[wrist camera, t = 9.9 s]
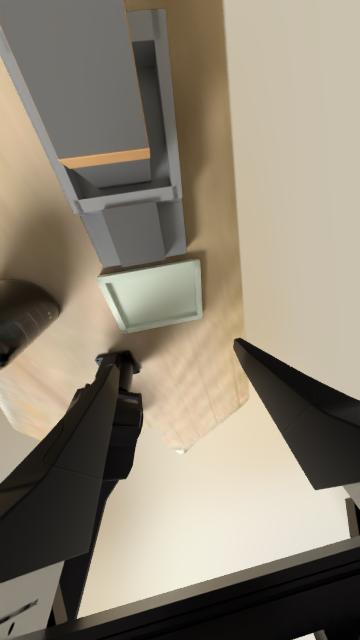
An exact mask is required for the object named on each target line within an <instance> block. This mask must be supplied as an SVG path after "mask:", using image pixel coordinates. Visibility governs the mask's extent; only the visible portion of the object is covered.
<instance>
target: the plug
mask: <svg viewBox="0 0 360 640" xmlns="http://www.w3.org/2000/svg"><path fill="white" fill-rule="evenodd" d="M0 27H1V29H2V31H3V34H4V36H5V38H6V41H7V43H8V45H9V47H10V50H11V52H12V54H13V57H14V59H15V61H16V64H17V66H18V68H19V70H20V73H21V75H22V77H23V80H24V82H25V84H26V87H27V89H28V91H29V93H30V96H31V98H32V100H33V103H34V105H35V107H36V110H37V112H38V114H39V116H40V119H41V121H42V123H43V126H44V128H45V130H46V133H47V135H48V137H49V139H50V142H51V144H52V146H53V149H54V151H55V153H56V156H57V158H58V160H59V162H61V163H62V164H64V165H65V166H66V167H68V168H69V169H73V170H74V171H76V172H77V173H78V174H80V175H81V176H82V177H84V178H85V179H86V180H88V181H89V182H91V183H92V184H93V185H95V186H96V187H97V188H99V189H107V188H114V187H121V186H128V185H135V184H142V183H149V182H151V171H150V160H149V158H150V149H149V143H148V137H147V131H146V125H145V119H144V113H143V107H142V101H141V95H140V89H139V83H138V77H137V71H136V65H135V60H134V54H133V48H132V42H131V36H130V30H129V24H128V18H127V12H126V6H125V0H0Z"/></svg>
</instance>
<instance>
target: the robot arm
mask: <svg viewBox="0 0 360 640" xmlns="http://www.w3.org/2000/svg"><path fill="white" fill-rule="evenodd" d="M233 348H234V351H235V353H236V355H237V357H238V359H239V362H240V364H241V366H242V368H243V370H244V371H245V373H246V375H247V377H248V378H249V380H250V382H251V383H252V385H253V387H254V388H255V390H256V392H257V393H258V395H259V397H260V398H261V400H262V402H263V403H264V405H265V407H266V409H267V410H268V412H269V414H270V415H271V417H272V419H273V420H274V422H275V424H276V425H277V427H278V429H279V430H280V432H281V434H282V436H283V438H284V439H285V441H286V443H287V444H288V446H289V448H290V449H291V451H292V453H293V454H294V456H295V458H296V459H297V461H298V463H299V465H300V466H301V468H302V470H303V471H304V473H305V475H306V476H307V478H308V480H309V481H310V483H311V485H312V486H313V488H314V489H315V490H319V489H325V488H331V487H337V486H343V487H344V489H345V490H346V491H347V492H348V494H349V495H350V498H346V499H345V501H346V509H347V516H348V524H349V532H350V537H351V538H350V539H347V540H343V541H340V542H336V543H333V544H330V545H326V546H323V547H320V548H316V549H313V550H309V551H306V552H302V553H299V554H296V555H293V556H289V557H285V558H282V559H279V560H275V561H272V562H269V563H265V564H262V565H258V566H255V567H252V568H248V569H245V570H241V571H238V572H235V573H231V574H228V575H224V576H221V577H218V578H214V579H211V580H207V581H204V582H201V583H197V584H194V585H191V586H187V587H184V588H180V589H177V590H174V591H170V592H167V593H163V594H160V595H157V596H153V597H150V598H146V599H143V600H140V601H136V602H133V603H129V604H126V605H123V606H119V607H116V608H113V609H109V610H106V611H102V612H99V613H95V614H92V615H89V616H86V617H82V618H79V619H77V615H78V611H79V607H80V603H81V599H82V595H83V591H84V587H85V583H86V579H87V576H88V571H89V567H90V564H91V559H92V556H93V552H94V548H95V544H96V540H97V536H98V532H99V528H100V524H101V520H102V516H103V512H104V508H105V505H106V501H107V499H108V497H109V495H110V494H111V492H112V491H113V489H114V488H115V486H116V484H117V483H118V481H119V480H122V479H126V478H127V477H128V475H129V473H130V471H131V468H132V466H133V460H134V453H135V447H136V443H137V439H138V437H139V435H140V432H141V429H142V425H143V407H142V396H141V393H133V392H130V390H131V383H132V377H133V374H137V373H139V372H140V369H139V367H138V365H137V363H136V361H135V359H134V357H133V355H132V353H131V352H130V351H125V352H120V353H115V354H110V355H105V356H100V357H96V359H95V361H96V363H97V364H98V365H99V368H98V371H97V373H96V375H95V377H96V378H95V380H94V382H93V383H92V384H91V385H90V384H86V385H85V387H84V388H81V389H77V391H76V393H75V395H74V397H73V399H72V401H71V403H70V406H69V408H68V410H67V412H66V414H65V415H64V417H63V418H62V419H61V420H60V421H59V422H58V423H57V425H56V426H55V427H54V428H53V429H52V430H51V431H50V432H49V434H48V435H47V436H46V437H45V438H44V439H43V440H42V441H41V442H40V443H39V444H38V445H37V446H36V447H35V449H34V450H33V451H32V452H31V453H30V454H29V455H28V456H27V457H26V458H25V459H24V460H23V461H22V462H21V463H20V464H19V465H18V466H17V467H16V468H15V469H14V470H13V472H11V474H10V475H9V476H8V477H7V478H6V479H5V480H4V481H3V482H1V483H0V640H293V639H296V638H299V637H302V636H305V635H308V634H311V633H314V636H315V639H316V640H360V400H357V399H355V398H352V397H350V396H348V395H346V394H344V393H342V392H340V391H338V390H335V389H334V388H331V387H329V386H327V385H325V384H323V383H321V382H319V381H317V380H315V379H313V378H311V377H309V376H307V375H305V374H304V373H302V372H300V371H298V370H296V369H295V368H293V367H290V366H289V365H287V364H286V363H284V362H282V361H280V360H279V359H277V358H275V357H273V356H272V355H270V354H268V353H266V352H264V351H263V350H261V349H259V348H257V347H256V346H254V345H252V344H250V343H248V342H247V341H245V340H243V339H242V338H236V339H234V345H233ZM127 353H128V354H127Z"/></svg>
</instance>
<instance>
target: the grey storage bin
mask: <svg viewBox="0 0 360 640" xmlns="http://www.w3.org/2000/svg"><path fill="white" fill-rule="evenodd" d="M126 12H127V18H128V24H129V30H130V36H131V42H132V48H133V54H134V60H135V65H136V71H137V77H138V83H139V89H140V95H141V101H142V107H143V113H144V119H145V125H146V131H147V137H148V143H149V149H150V158H149V160H150V171H151V182H149V183H142V184H135V185H128V186H121V187H114V188H107V189H99V188H97V187H96V186H95V185H93V184H92V183H91V182H89V181H88V180H86V179H85V178H84V177H82V176H81V175H80V174H78V173H77V172H76V171H74V170H73V169H69V168H68V167H66V166H65V165H64V164H62V163H61V162H59V160H58V158H57V156H56V153H55V151H54V149H53V146H52V144H51V142H50V139H49V137H48V135H47V133H46V130H45V128H44V126H43V123H42V121H41V119H40V116H39V114H38V112H37V110H36V107H35V105H34V103H33V100H32V98H31V96H30V93H29V91H28V89H27V87H26V84H25V82H24V80H23V77H22V75H21V73H20V70H19V68H18V66H17V64H16V61H15V59H14V57H13V54H12V52H11V50H10V47H9V45H8V43H7V41H6V38H5V36H4V34H3V31H2V29H1V27H0V56H1V58H2V60H3V62H4V64H5V67H6V69H7V71H8V73H9V75H10V77H11V79H12V82H13V84H14V86H15V88H16V90H17V92H18V95H19V97H20V99H21V101H22V103H23V105H24V107H25V110H26V112H27V114H28V116H29V118H30V120H31V122H32V125H33V127H34V129H35V131H36V133H37V135H38V138H39V140H40V142H41V144H42V146H43V148H44V150H45V153H46V155H47V157H48V159H49V161H50V163H51V166H52V168H53V170H54V172H55V174H56V176H57V178H58V181H59V183H60V185H61V187H62V189H63V191H64V194H65V196H66V198H67V200H68V202H69V204H70V206H71V209H72V211H73V213H74V214H75V215H80V217H81V219H82V221H83V224H84V226H85V228H86V230H87V233H88V235H89V237H90V239H91V242H92V244H93V246H94V248H95V251H96V253H97V255H98V257H99V260H100V262H101V264H102V266H103V268H105V267H111V266H117V265H121V266H122V267H128V266H133V265H139V264H145V263H151V262H156V261H162V260H166V257H169V256H174V255H180V254H186V253H187V248H186V237H185V227H184V216H183V205H182V198H183V197H182V186H181V175H180V163H179V152H178V141H177V130H176V119H175V108H174V97H173V86H172V75H171V64H170V53H169V42H168V31H167V20H166V9H165V8H162V9H150V10H138V11H126Z"/></svg>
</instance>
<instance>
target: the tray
mask: <svg viewBox="0 0 360 640" xmlns="http://www.w3.org/2000/svg"><path fill="white" fill-rule="evenodd" d="M95 279H96V281H97V283H98V285H99V287H100V289H101V291H102V293H103V295H104V297H105V299H106V301H107V303H108V305H109V307H110V309H111V311H112V313H113V315H114V317H115V319H116V321H117V323H118V325H119V327H120V329H121V331H122V333H123V334H127V333H132V332H137V331H143V330H148V329H153V328H158V327H163V326H168V325H173V324H178V323H183V322H188V321H193V320H198V319H203V316H202V293H201V270H200V259H198V258H195V259H189V260H184V261H178V262H172V263H167V264H161V265H155V266H150V267H144V268H138V269H132V270H127V271H121V272H115V273H110V274H104V275H99V276H98V277H96V278H95Z"/></svg>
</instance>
